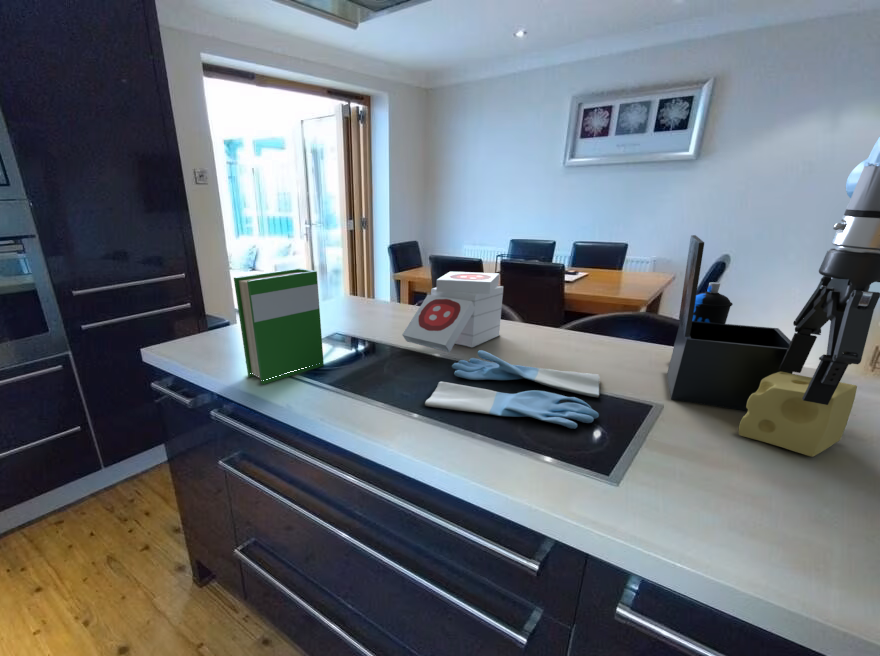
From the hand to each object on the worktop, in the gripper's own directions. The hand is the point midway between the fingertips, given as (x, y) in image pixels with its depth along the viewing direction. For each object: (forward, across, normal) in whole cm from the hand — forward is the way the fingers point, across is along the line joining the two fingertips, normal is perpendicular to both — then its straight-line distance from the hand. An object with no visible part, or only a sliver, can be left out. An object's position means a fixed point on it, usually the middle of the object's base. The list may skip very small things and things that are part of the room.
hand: (800, 386), depth 71 cm
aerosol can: (+10, -33, -9) cm, 36 cm away
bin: (+10, -18, -6) cm, 21 cm away
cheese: (+9, 0, +2) cm, 10 cm away
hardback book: (+16, +12, -97) cm, 99 cm away
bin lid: (-11, -18, -16) cm, 27 cm away
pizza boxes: (+14, -30, -67) cm, 75 cm away
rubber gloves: (+12, 0, -43) cm, 45 cm away
